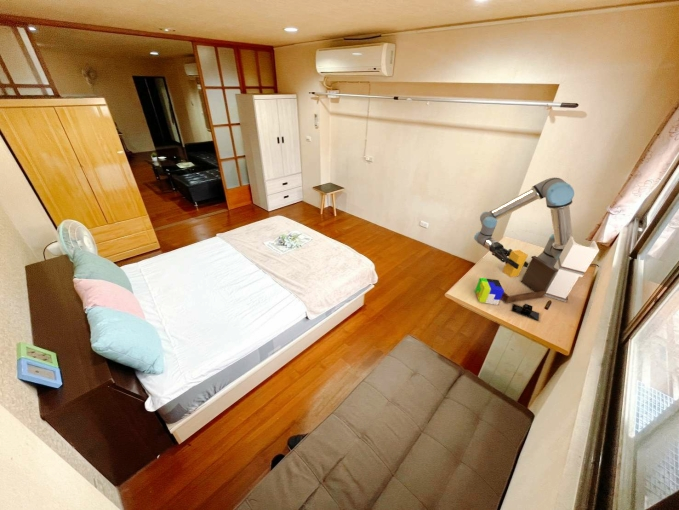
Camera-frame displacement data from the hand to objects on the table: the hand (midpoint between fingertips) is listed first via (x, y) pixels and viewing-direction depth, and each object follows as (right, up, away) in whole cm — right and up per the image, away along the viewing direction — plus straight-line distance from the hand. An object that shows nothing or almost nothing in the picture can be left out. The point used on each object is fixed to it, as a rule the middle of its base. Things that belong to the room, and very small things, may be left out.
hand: (522, 266), depth 152 cm
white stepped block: (+24, -17, +7) cm, 30 cm away
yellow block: (-1, -5, +9) cm, 10 cm away
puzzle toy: (-20, -19, +2) cm, 27 cm away
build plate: (-4, -25, -8) cm, 27 cm away
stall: (0, -16, +7) cm, 17 cm away
